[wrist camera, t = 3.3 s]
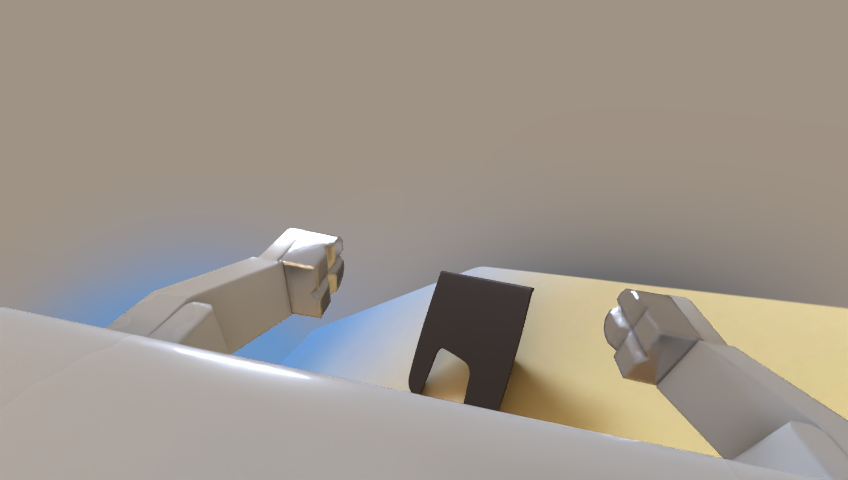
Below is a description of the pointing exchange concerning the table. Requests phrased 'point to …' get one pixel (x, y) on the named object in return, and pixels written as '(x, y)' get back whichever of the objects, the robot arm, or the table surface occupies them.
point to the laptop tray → (473, 333)
